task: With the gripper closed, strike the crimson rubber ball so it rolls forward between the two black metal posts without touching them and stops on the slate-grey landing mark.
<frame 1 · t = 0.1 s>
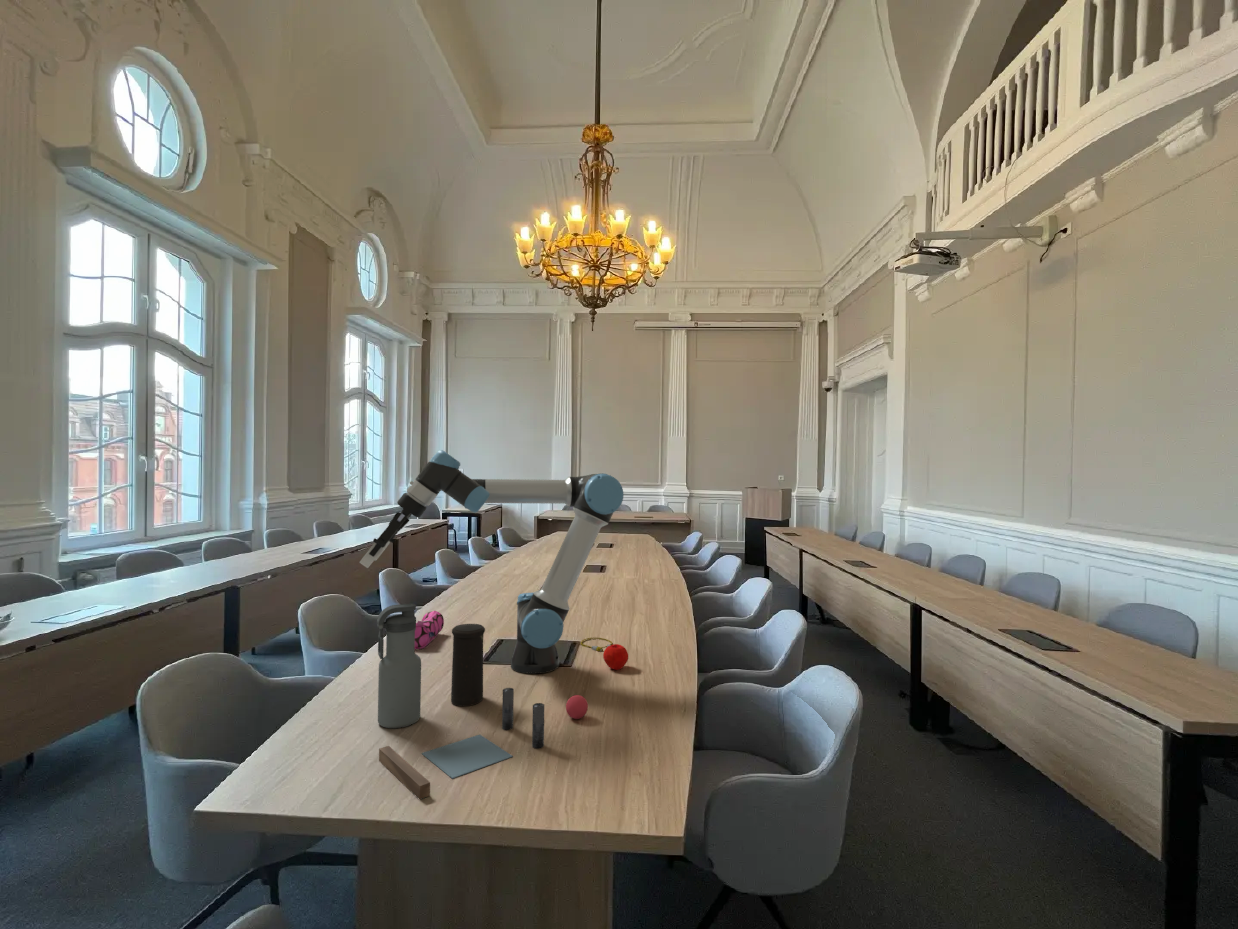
hand: (367, 561, 163), 36 cm above the table, tool tilted 35°, fingers open, 13 cm apart
container: (467, 701, 158), on the table
yellow cable loop: (597, 647, 211), on the table
water bottle: (398, 722, 145), on the table
pencil case: (426, 642, 213), on the table
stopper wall: (403, 777, 118), on the table
ball: (576, 707, 148), on the table
apple: (615, 669, 186), on the table
post 2: (538, 746, 132), on the table
post 1: (507, 727, 141), on the table
landing mark: (467, 755, 127), on the table
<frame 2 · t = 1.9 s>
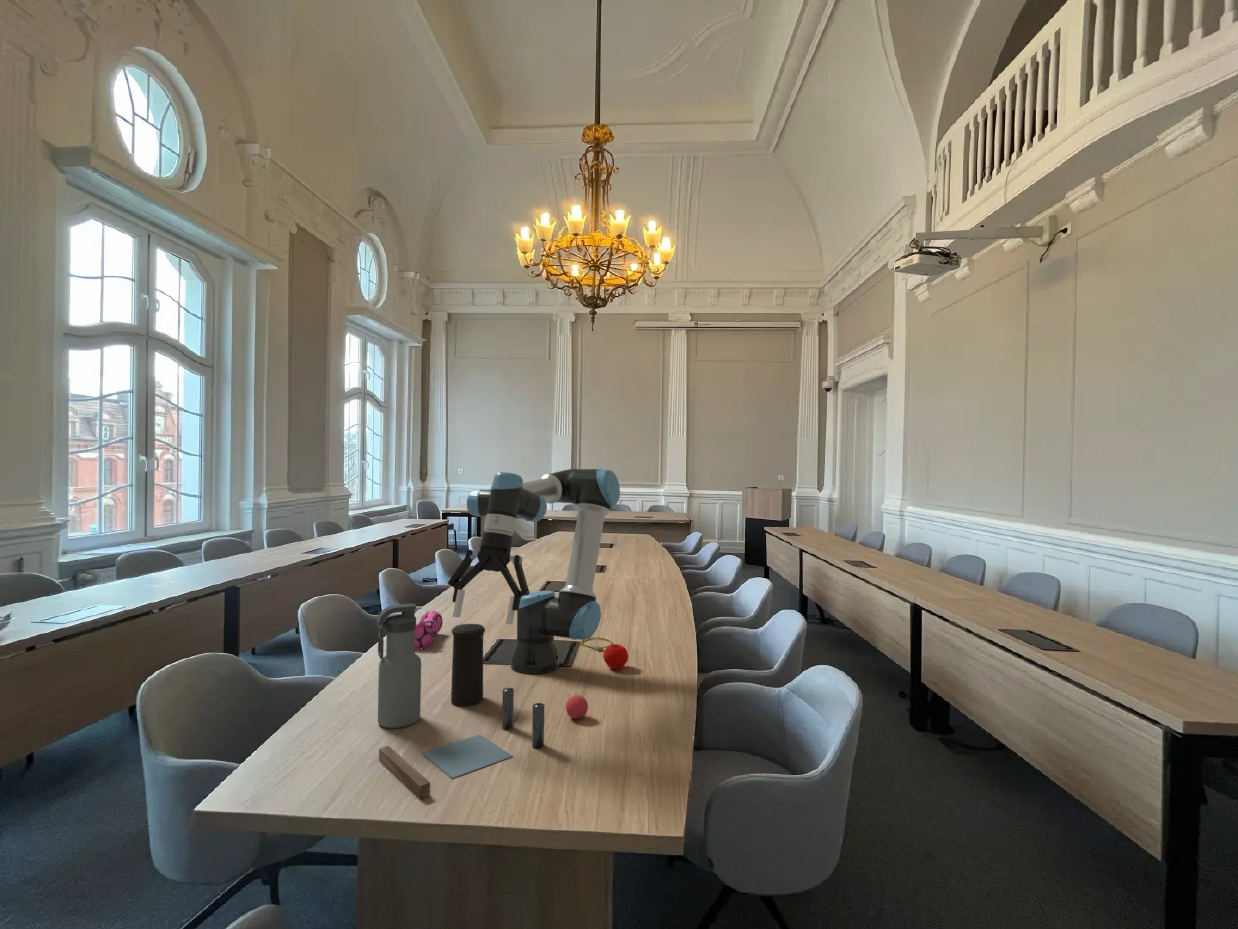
hand: (482, 620, 143), 25 cm above the table, tool tilted 15°, fingers open, 13 cm apart
nothing on the table moved.
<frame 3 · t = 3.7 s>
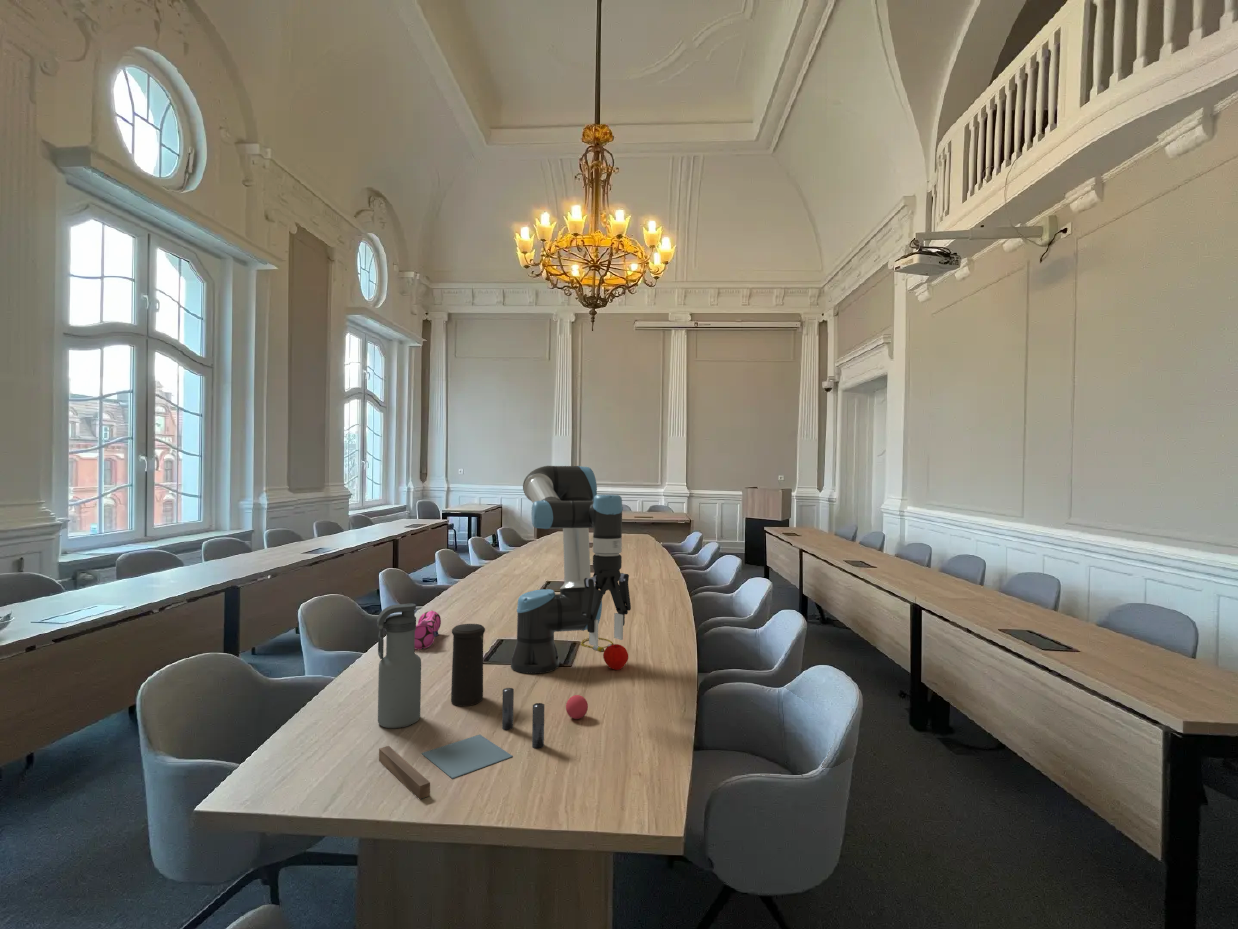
hand: (606, 641, 154), 17 cm above the table, tool pointing down, fingers open, 8 cm apart
nothing on the table moved.
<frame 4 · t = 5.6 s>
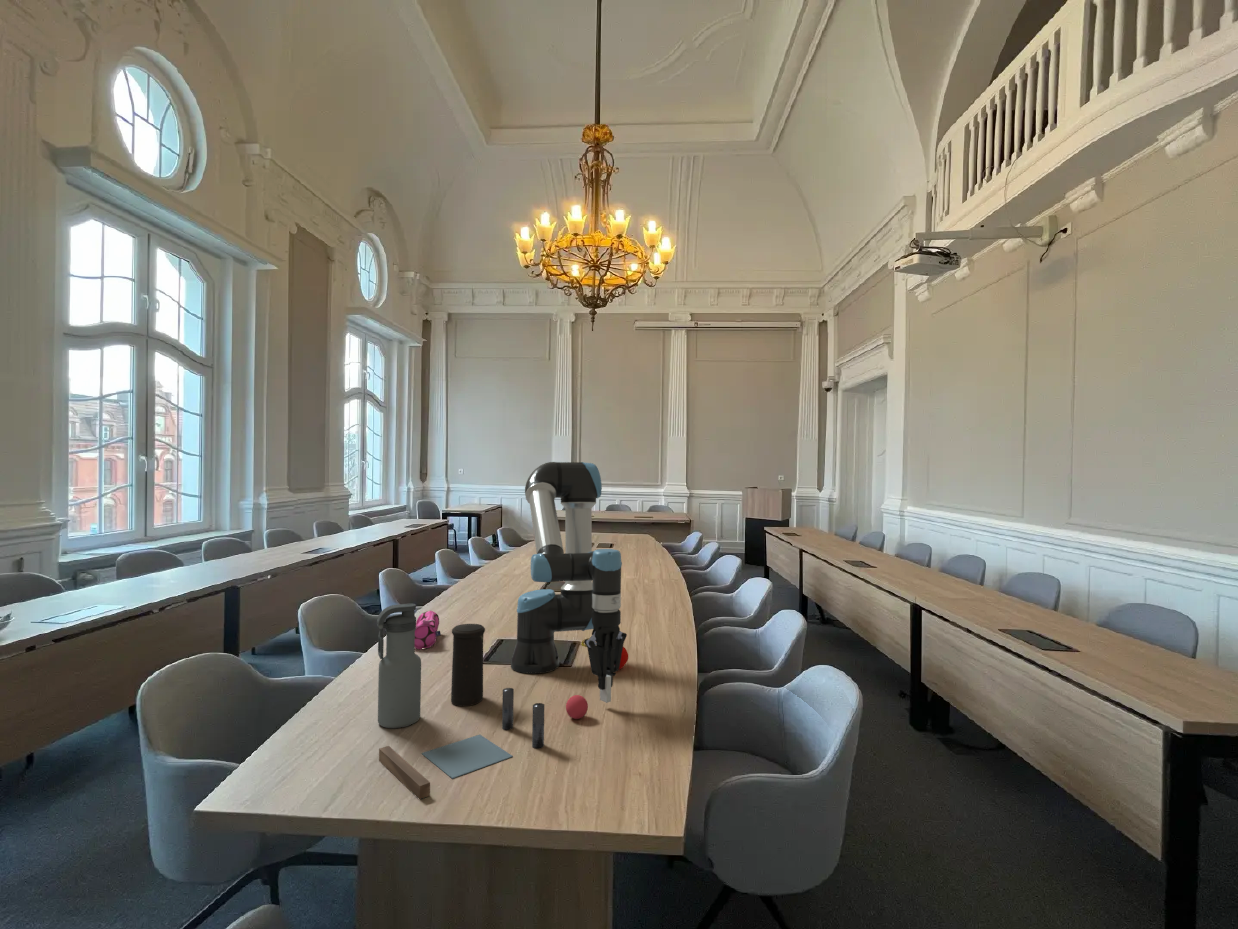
hand: (605, 700, 154), 2 cm above the table, tool pointing down, fingers closed
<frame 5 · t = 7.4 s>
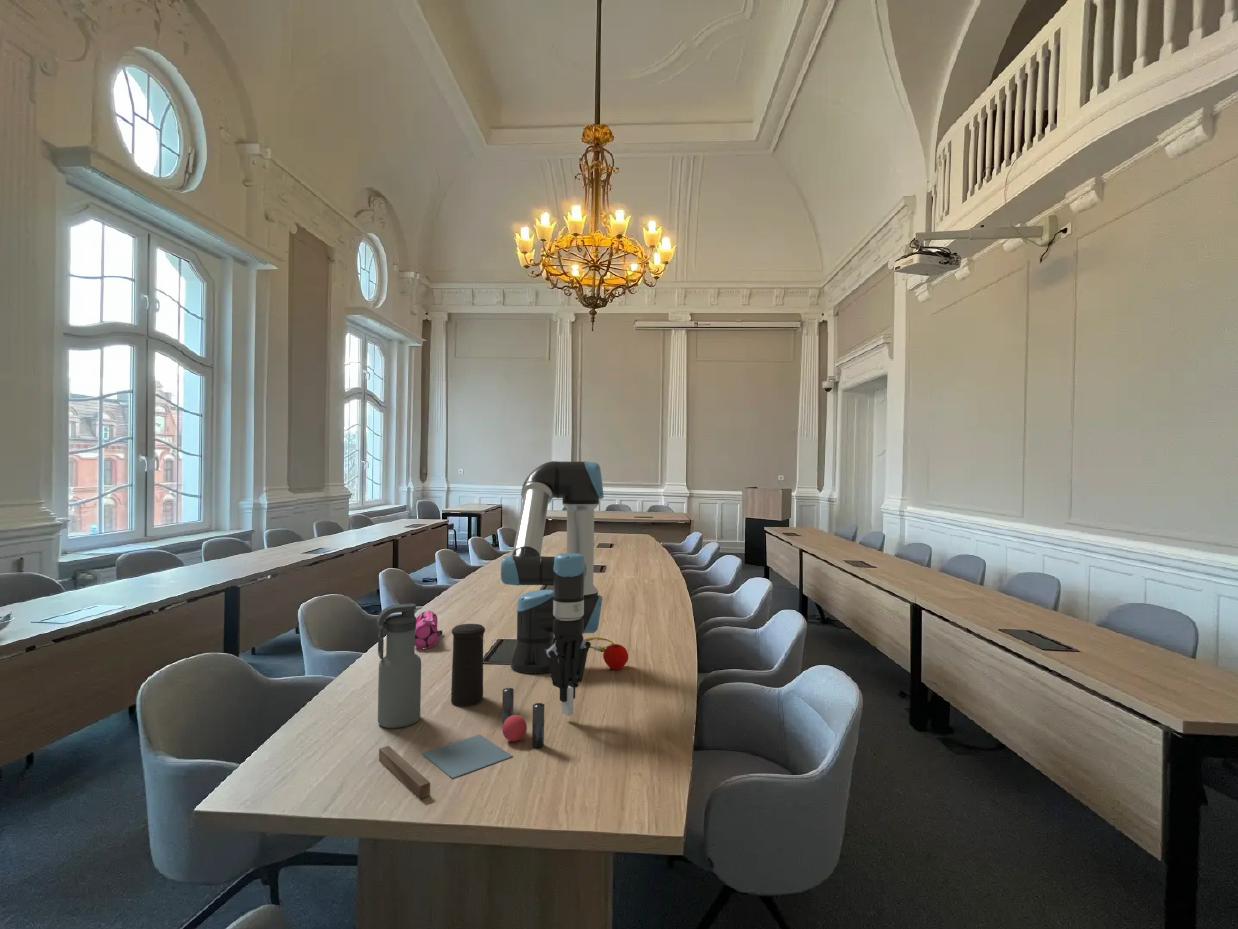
hand: (567, 713, 146), 2 cm above the table, tool pointing down, fingers closed
ball: (514, 728, 135), on the table
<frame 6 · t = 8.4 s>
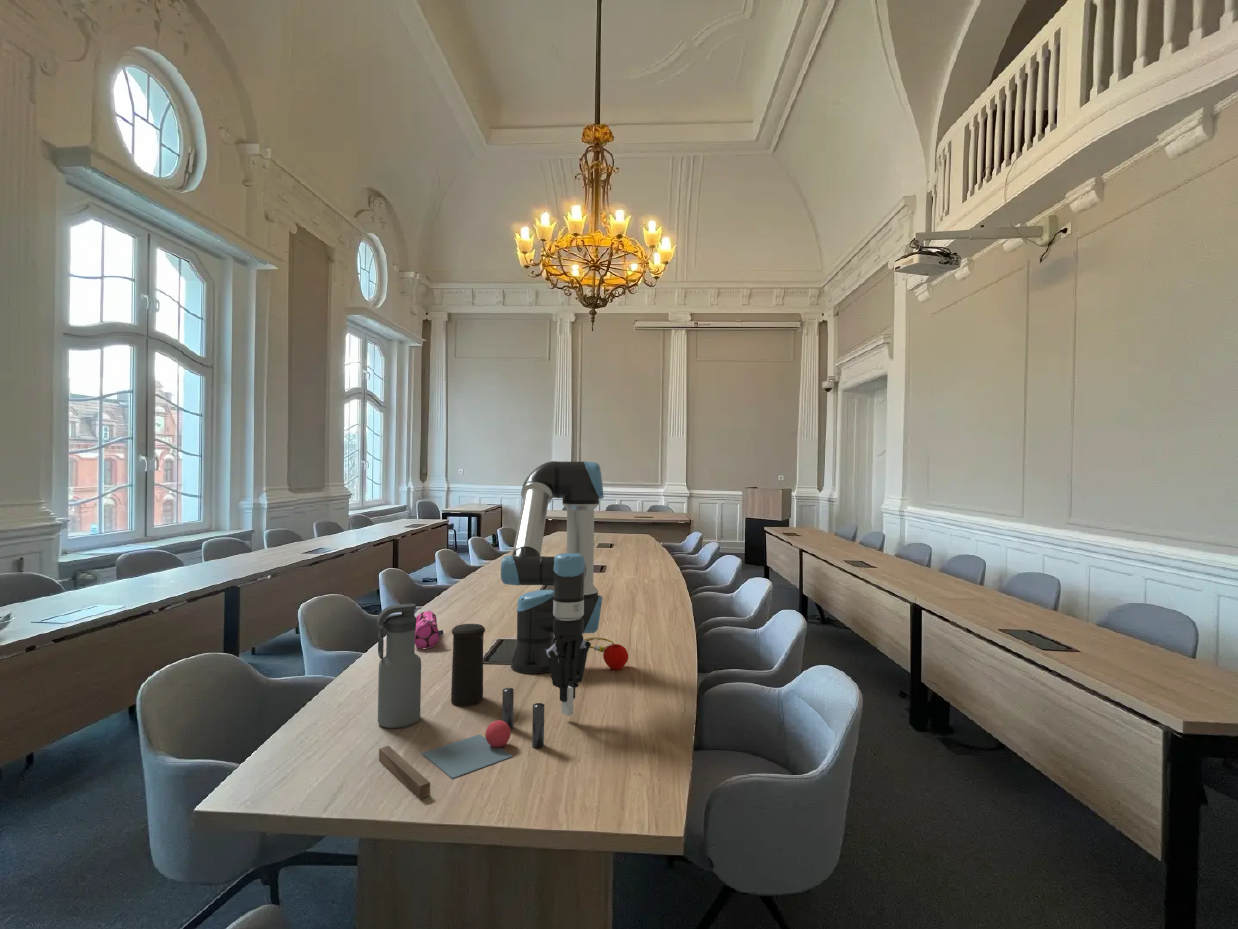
hand: (567, 713, 146), 2 cm above the table, tool pointing down, fingers closed
ball: (498, 733, 132), on the table
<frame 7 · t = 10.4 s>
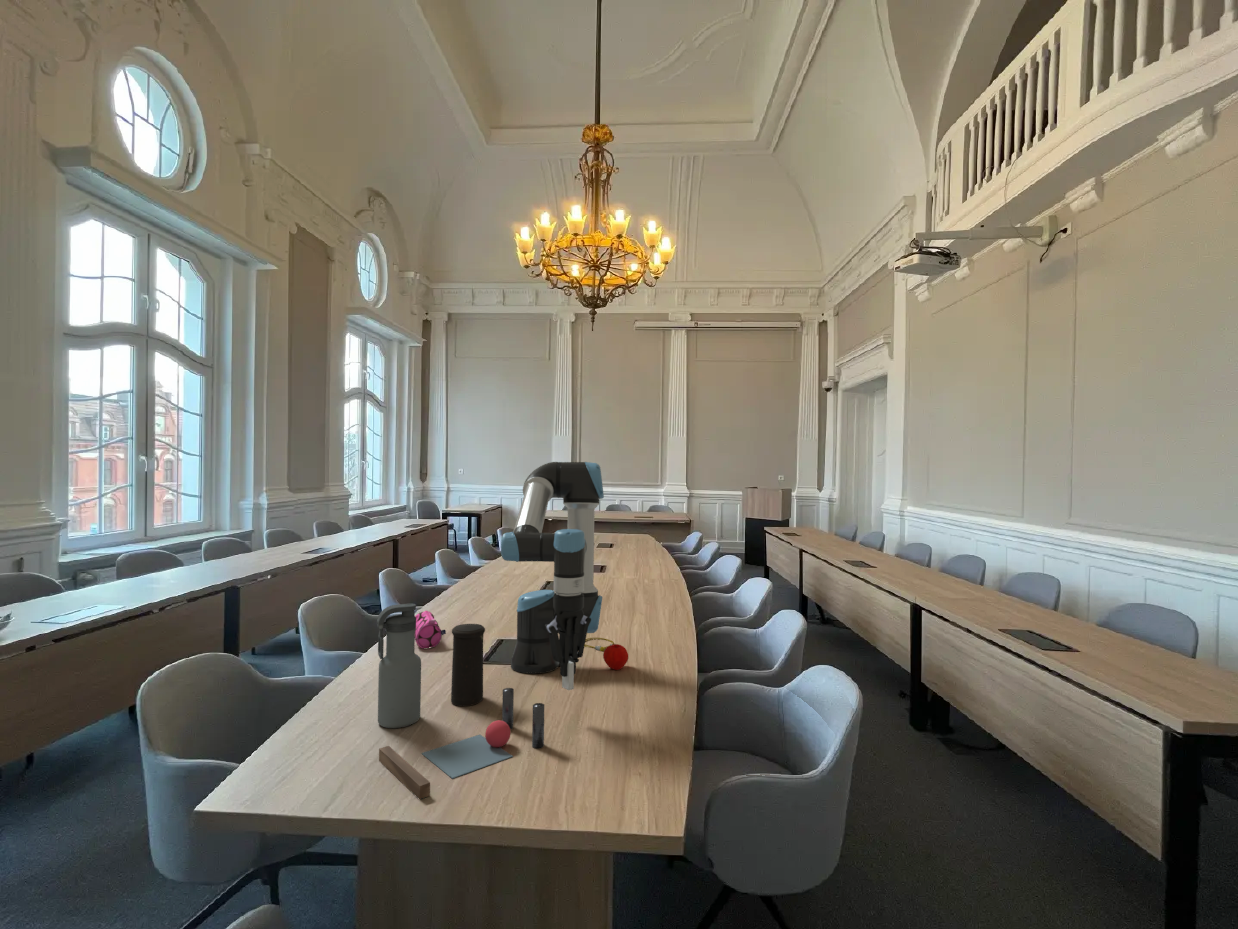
hand: (567, 688, 146), 8 cm above the table, tool pointing down, fingers closed
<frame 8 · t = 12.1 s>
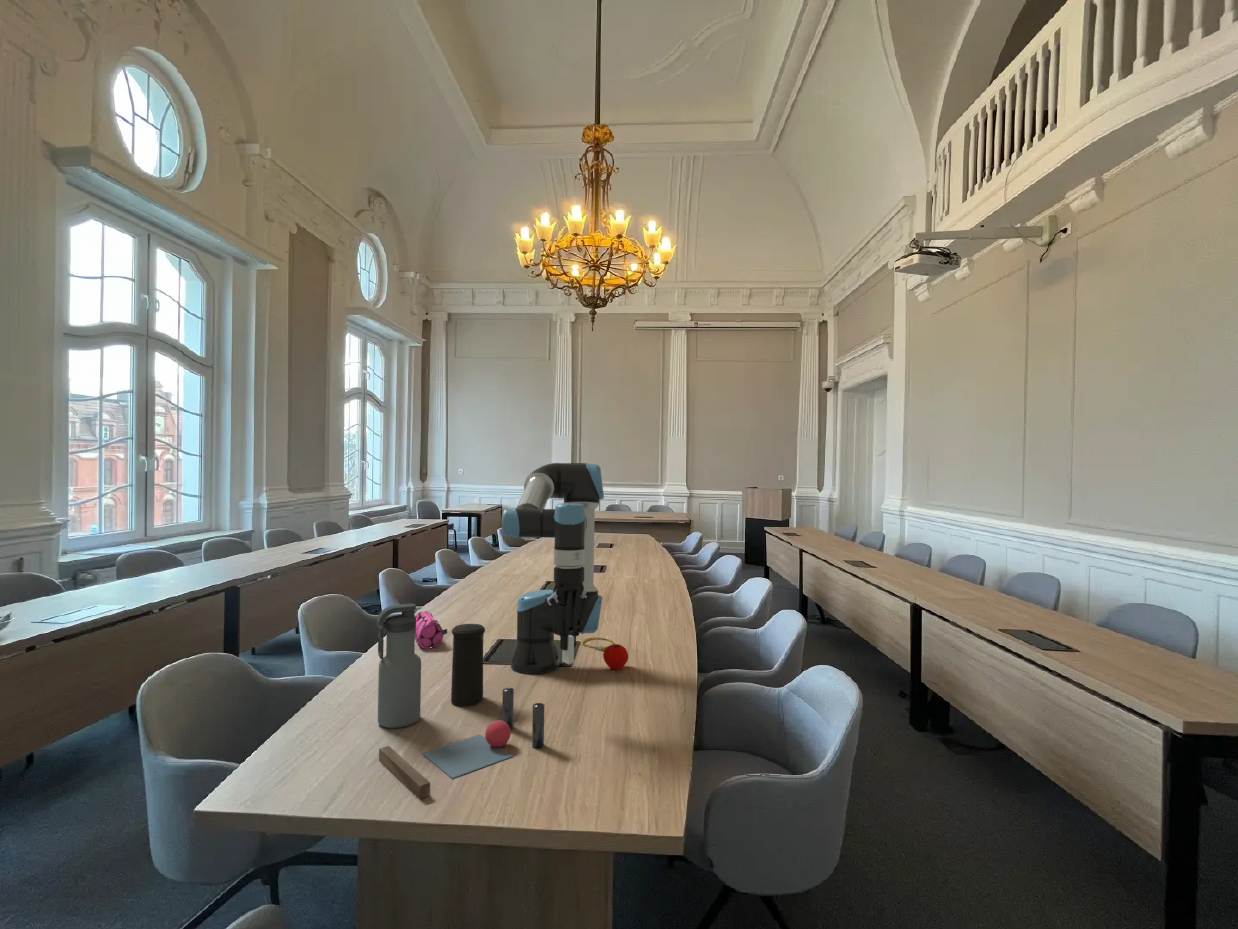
hand: (567, 662, 146), 14 cm above the table, tool pointing down, fingers closed
at the end: ball 7.2 cm from the landing mark (horizontally); ball never touched post 2; ball never touched post 1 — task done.
